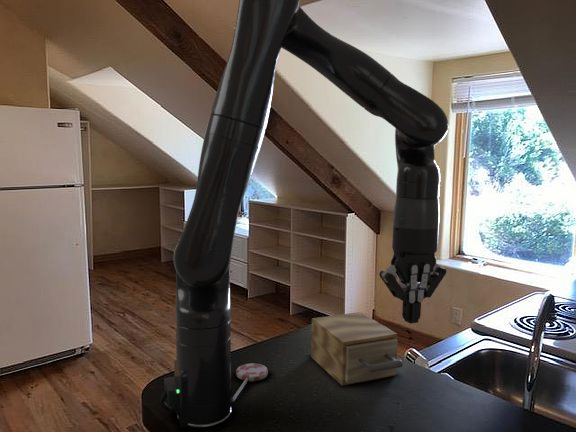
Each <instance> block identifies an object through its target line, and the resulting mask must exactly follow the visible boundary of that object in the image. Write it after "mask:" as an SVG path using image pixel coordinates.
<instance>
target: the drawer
mask: <svg viewBox="0 0 576 432" xmlns="http://www.w3.org/2000/svg"><path fill="white" fill-rule="evenodd" d="M398 345H399V340H398V339H397V340H396V339H395V338H394V339H383V340H377V341H370V342H369V343H363V344H356V345H350V346H349V345H346V362H345V382H347V383H354V382H359V381H364V380H369V379H374V378H379V377H385V376H390V375H395V376H396V375H397V368H402V367H403V366H404V365H403V361H402V360H401V359H398V348H399V347H398ZM390 377H391V376H390ZM385 378H386V377H385ZM379 379H380V378H379ZM374 380H375V379H374ZM369 381H370V380H369ZM364 382H365V381H364ZM359 383H360V382H359ZM354 384H355V383H354Z"/></svg>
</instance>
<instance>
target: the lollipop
mask: <svg viewBox="0 0 576 432" xmlns="http://www.w3.org/2000/svg"><path fill="white" fill-rule="evenodd" d="M268 374H269V370H268V368H267V367H266V366H265V365H263V364H262V363H261V364H260V363H251V362H250V363H245V364H241V365H240V366H238V367H237V368H236V370H235V375H236V377H237V378H238V379H239V380H242V381H243V382H242V384H241V385H240V387H238V389H237V390H236V392H235V394H234V395H232V397H231V402H235V401H236V399H237V398H238V396H239V394H240V393H241V392H242V391H243V389H244V388H245V386H246V384H247V383H248V382H258V381H262V380H264V379H266V378H267V376H268Z"/></svg>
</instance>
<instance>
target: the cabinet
mask: <svg viewBox="0 0 576 432" xmlns="http://www.w3.org/2000/svg"><path fill="white" fill-rule="evenodd" d="M394 338H395V339H396V340H398V333H396V332H395V331H393V330H392V329H391V328H388V327H387V326H385V325H383V324H382V323H380V322H378V321H376V320H375V319H373V318H371V317H370V316H368V315H366V314H365V313H364V312H361V311H358V312H349V313H342V314H335V315H326V316H318V317H312V318H311V341H310V343H311V344H310V358H311V359H312V360H314V361H315V362H316V363H317V364H318V365H319V366H320V367H321V368H322V369H323V370H325V372H327V374H329V375H330V376H331V377H332V379H334V380H335V381H336V382H337V383H338V384H339V385H341V386H349V385H353V384H359V383H363V382H368V381H369V382H370V381H373V380H379V379H384V378H390V377H394V376H396V374H395V375H390V376H385V377H379V378H374V379H369V380H364V381H359V382H354V383H347V382H345V362H346V345H351V344H358V343H364V342H370V341H377V340H383V339H394Z"/></svg>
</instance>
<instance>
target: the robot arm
mask: <svg viewBox="0 0 576 432" xmlns="http://www.w3.org/2000/svg"><path fill="white" fill-rule="evenodd" d="M300 2H301V1H300V0H238V7H237V15H236V21H235V27H234V33H233V39H232V43H231V48H230V52H229V55H228V58H227V62H226V63H225V67H224V70H223V72H222V75H221V78H220V81H219V83H218V87H217V91H216V93H215V97H214V99H213V103H212V106H211V109H210V113H209V114H210V115H209V117H208V121H207V124H206V128H205V132H204V136H203V141H202V146H201V152H200V157H199V163H198V171H197V178H196V179H197V180H196V188H195V193H194V198H193V202H192V205H191V207H190V211H189V214H188V217H187V220H186V223H185V225H184V228H183V230H182V233H181V235H180V236H179V238H178V239H177V242H176V245H175V248H174V250H173V265H174V269H175V282H176V283H175V286H176V287H175V288H176V289H175V351H176V354H175V355H176V357H175V358H176V359H175V360H174V362H173V367H174V368H173V369H174V370H173V371H174V376H169V377H164V378H163V379H164V380H163V385H164V386H163V389H164V390H163V393H162V394H161V396H160V398H159V403H160V406H161V407H162V409H164V410H165V411H166V412H167V413H170V412H172V410H173V408H172V407H174V412H175V415H176V419H177V421H178V424H179V427H180V429H186V428H187V429H188V428H190V429H194V430H195V429H196V430H205V429H211V428H215V427H218V426H221V425H222V424H224V423H226V422H227V421H228V420H229V419H230V418H231V416H232V401H231V399H232V398H233V389H232V357H231V356H232V352H231V351H232V350H231V349H232V347H231V345H232V341H231V340H232V339H231V337H232V335H231V334H232V330H231V328H232V327H231V325H232V323H231V321H232V317H231V316H232V315H231V311H232V310H231V305H232V304H231V270H230V269H231V263H232V262H231V261H232V253H233V245H234V239H235V233H236V228H237V224H238V223H237V222H238V218H239V212H240V209H241V205H242V202H243V200H244V196H245V194H246V192H247V190H248V187H249V185H250V182H251V180H252V176H253V173H254V170H255V168H256V165H257V161H258V158H259V155H260V152H261V148H262V146H263V145H262V144H263V141H264V138H265V134H266V130H267V126H268V122H269V116H270V111H271V105H272V99H273V91H274V81H275V74H276V68H277V63H278V59H279V56H280V52H281V50H282V49H283V50H285V51H287V52H288V53H289V54H291V55H293V56H294V57H296V58H298V59H299V60H301V61H302V62H304V63H305V64H307V65H308V66H310V67H311V68H312V69H314V70H315V71H316V72H318V73H319V74H320V75H321V76H323V77H324V78H325V79H327V80H328V81H329V82H330V83H331V84H333V85H334V86H335V87H336V88H338V89H339V90H340V91H341V92H342V93H344V94H345V95H346V96H347V97H349V98H350V99H351V100H353V102H355V103H356V104H357V105H358V106H360V107H361V108H363V109H364V110H365V111H367V112H368V113H369V114H370V115H372V116H375V117H379V118H382V119H383V120H385V121H386V122H387V123H388V124H390V125H391V126H392V127H393V128H395V131H394V142H395V143H394V146H395V158H396V166H397V174H396V187H395V188H396V189H395V202H394V206H393V220H392V221H393V222H392V240H391V241H392V243H391V244H392V245H391V247H392V251H393V255H392V258H391V261H390V265H389V267H387V268H386V269H385V270H380V272H379V274H378V275H379V277H380V279H381V281H382V282H383V283H384V285H385V286H386V287H387V289H388V290H389V292H390V293H391V295H392V296H393V297H394V298H396V299H399V300H400V301H402V311H401V315H402V318H403V320H404V322H406V323H408V324H417V323H419V320H420V319H421V315H422V311H421V310H422V302H424V299H426V298H428V299H429V298H431V297H432V296H433V294H434V293H435V291H436V289H438V287H439V285H440V284H441V282H442V280H443V279H444V277H445V276H446V274H447V269H446V268H444V267H441V266H440V265H439V264H437V258H436V255H435V254H436V253H437V252H438V247H439V246H438V245H439V229H440V199H439V197H440V182H441V173H440V168H439V166H438V165H437V163H436V160H435V145H437V144H438V143H440V142H442V141H443V139H444V138H445V137H446V135H447V133H448V130H449V119H448V116H447V114H446V113H445V111H444V109H443V108H442V107H440V106H439V104H438V103H436V102H435V101H434V100H432V99H431V98H430V97H428V96H426V95H425V94H423V93H422V92H420V91H418V90H416V89H415V88H413V87H411V86H410V85H408V84H405V83H404V82H402V81H401V80H400V79H398V78H397V76H395V75H394V74H393V73H392V72H390V71H389V70H388V69H387V68H385V66H384V65H382V64H381V63H379V62H378V61H377V60H375V59H374V58H373V57H371V56H370V55H369V54H367V53H366V52H364V51H362V50H361V49H359V48H358V47H355V46H354V45H352V44H350V43H348V42H346V41H344V40H342V39H340V38H338V37H336V36H335V35H333V34H331V33H329V32H328V31H327V30H325V29H324V28H323V27H321V26H320V25H318V23H316V22H315V21H314V20H313V19H312V18H311V17H310V16H309V15H308V14H307V13H306V12H305V11H304V9H303V8H302V7H301V6H300ZM397 280H398V281H397ZM166 402H167V403H166Z"/></svg>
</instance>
